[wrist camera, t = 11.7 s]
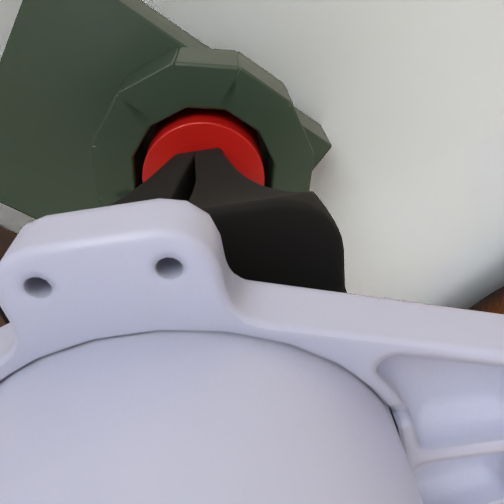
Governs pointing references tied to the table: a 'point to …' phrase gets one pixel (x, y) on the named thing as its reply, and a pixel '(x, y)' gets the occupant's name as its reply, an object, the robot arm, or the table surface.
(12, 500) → the robot arm
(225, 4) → the table surface
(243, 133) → the button
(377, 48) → the table surface
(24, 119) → the button box
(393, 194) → the table surface
